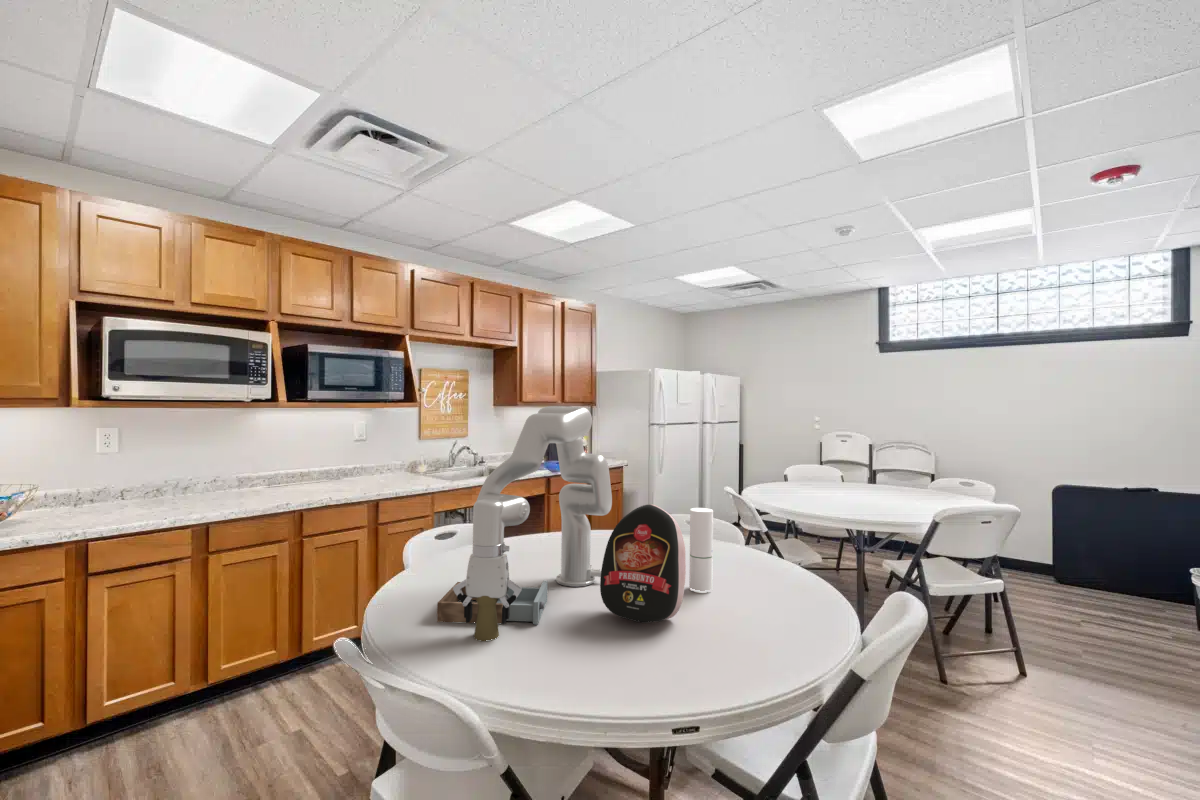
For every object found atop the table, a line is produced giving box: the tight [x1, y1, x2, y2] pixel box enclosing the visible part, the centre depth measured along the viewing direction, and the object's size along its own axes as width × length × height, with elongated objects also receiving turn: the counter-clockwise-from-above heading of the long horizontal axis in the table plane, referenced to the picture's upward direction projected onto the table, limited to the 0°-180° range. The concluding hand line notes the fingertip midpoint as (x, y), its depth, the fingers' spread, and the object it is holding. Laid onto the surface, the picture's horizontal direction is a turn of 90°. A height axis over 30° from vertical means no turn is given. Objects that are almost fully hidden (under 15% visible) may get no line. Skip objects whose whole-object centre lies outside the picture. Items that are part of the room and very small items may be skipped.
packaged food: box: [599, 503, 687, 624], centre depth 145 cm, size 22×20×30 cm
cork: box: [473, 596, 500, 642], centre depth 132 cm, size 6×6×11 cm
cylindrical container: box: [688, 507, 714, 591], centre depth 168 cm, size 7×7×25 cm
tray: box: [497, 580, 549, 625], centre depth 147 cm, size 18×18×6 cm
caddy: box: [436, 581, 503, 624], centre depth 148 cm, size 17×17×5 cm
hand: (486, 621), depth 131 cm, fingers open, 8 cm apart
